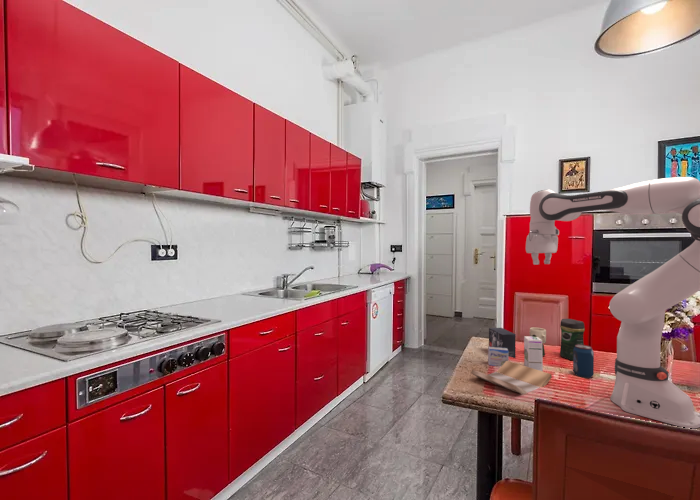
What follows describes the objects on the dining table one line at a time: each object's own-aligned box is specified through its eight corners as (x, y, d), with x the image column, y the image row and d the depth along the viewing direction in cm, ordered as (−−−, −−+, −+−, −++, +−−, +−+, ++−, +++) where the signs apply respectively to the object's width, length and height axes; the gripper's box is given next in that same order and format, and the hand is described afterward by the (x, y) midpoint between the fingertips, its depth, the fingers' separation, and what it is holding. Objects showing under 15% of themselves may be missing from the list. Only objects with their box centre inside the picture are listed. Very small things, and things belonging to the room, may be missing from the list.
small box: (488, 351, 171) (488, 327, 171) (500, 350, 172) (501, 327, 172) (502, 359, 158) (502, 334, 158) (516, 359, 158) (516, 333, 158)
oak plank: (497, 374, 138) (496, 371, 138) (507, 363, 142) (506, 360, 142) (541, 390, 123) (540, 387, 122) (552, 377, 127) (551, 374, 126)
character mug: (523, 352, 169) (524, 326, 169) (537, 351, 170) (537, 326, 169) (538, 359, 158) (538, 331, 158) (552, 359, 159) (552, 331, 159)
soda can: (596, 376, 137) (597, 347, 137) (588, 379, 133) (588, 349, 133) (578, 371, 143) (578, 343, 143) (569, 374, 139) (569, 345, 139)
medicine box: (488, 368, 146) (488, 348, 146) (487, 365, 150) (487, 345, 150) (508, 370, 143) (508, 350, 143) (507, 367, 148) (507, 347, 147)
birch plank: (526, 396, 117) (527, 392, 118) (515, 389, 114) (516, 385, 114) (481, 379, 133) (483, 376, 133) (470, 373, 129) (471, 369, 129)
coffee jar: (588, 360, 156) (588, 321, 156) (574, 362, 154) (575, 322, 154) (569, 354, 166) (569, 317, 166) (556, 355, 163) (557, 317, 163)
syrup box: (543, 375, 138) (543, 340, 138) (527, 374, 139) (527, 339, 139) (538, 370, 144) (538, 336, 144) (523, 369, 145) (523, 335, 145)
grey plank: (540, 391, 122) (540, 387, 122) (528, 396, 118) (528, 392, 118) (495, 375, 138) (495, 371, 138) (483, 379, 133) (483, 375, 133)
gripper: (537, 229, 128) (537, 265, 128) (561, 231, 140) (560, 264, 140) (521, 229, 133) (521, 264, 133) (545, 231, 145) (544, 263, 145)
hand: (541, 264), depth 137 cm, fingers open, 8 cm apart
